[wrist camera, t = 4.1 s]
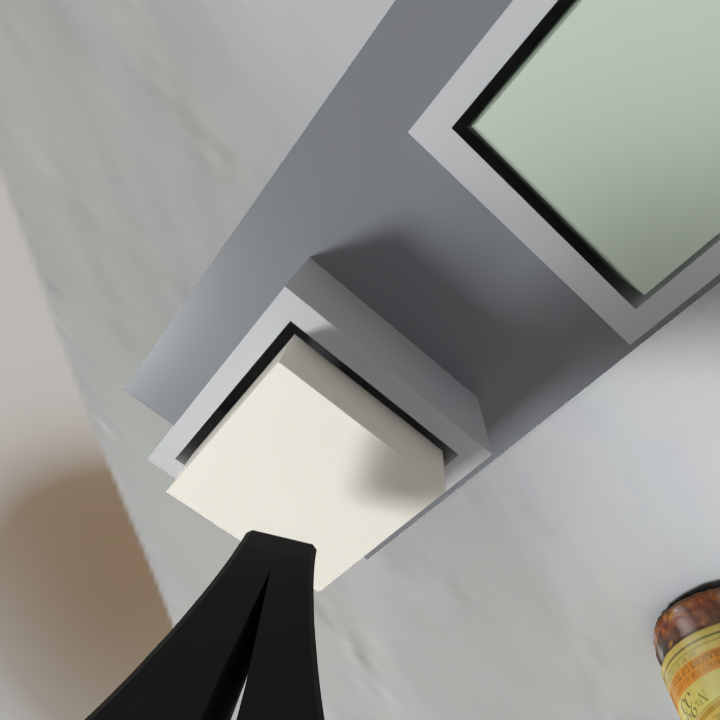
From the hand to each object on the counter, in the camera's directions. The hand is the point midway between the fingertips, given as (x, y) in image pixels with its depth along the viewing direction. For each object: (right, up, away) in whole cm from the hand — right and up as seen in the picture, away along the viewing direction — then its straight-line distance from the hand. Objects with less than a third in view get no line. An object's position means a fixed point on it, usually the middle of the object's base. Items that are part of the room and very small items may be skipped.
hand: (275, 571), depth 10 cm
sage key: (+8, +9, 0) cm, 12 cm away
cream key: (0, +2, +4) cm, 4 cm away
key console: (+4, +8, +6) cm, 11 cm away
